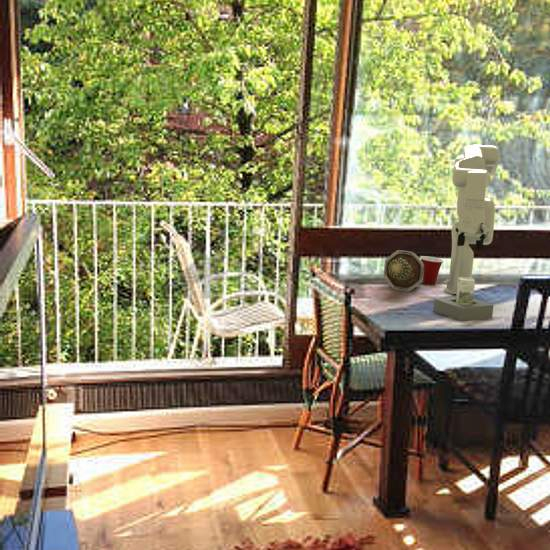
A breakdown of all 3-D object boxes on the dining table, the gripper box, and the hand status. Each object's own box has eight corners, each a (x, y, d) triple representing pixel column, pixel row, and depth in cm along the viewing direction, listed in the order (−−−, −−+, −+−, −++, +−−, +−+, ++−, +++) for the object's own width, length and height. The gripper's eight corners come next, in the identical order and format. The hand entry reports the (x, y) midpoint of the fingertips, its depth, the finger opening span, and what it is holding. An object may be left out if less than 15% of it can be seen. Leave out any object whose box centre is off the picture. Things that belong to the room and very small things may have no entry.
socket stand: (433, 311, 303) (434, 298, 302) (462, 307, 312) (464, 295, 311) (462, 321, 290) (463, 308, 289) (492, 317, 298) (493, 304, 297)
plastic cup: (443, 286, 349) (446, 260, 346) (419, 285, 349) (422, 259, 346) (439, 281, 359) (441, 256, 357) (416, 280, 360) (418, 255, 357)
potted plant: (392, 250, 351) (378, 244, 323) (431, 256, 345) (421, 250, 317) (385, 288, 351) (371, 285, 323) (424, 295, 345) (413, 292, 317)
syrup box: (469, 312, 303) (472, 277, 300) (471, 316, 298) (475, 280, 295) (454, 311, 304) (457, 276, 301) (456, 315, 298) (460, 279, 295)
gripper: (450, 201, 298) (446, 244, 301) (483, 207, 283) (478, 252, 287) (465, 200, 301) (460, 243, 305) (498, 206, 287) (493, 251, 291)
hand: (469, 248), depth 296 cm, fingers open, 9 cm apart
